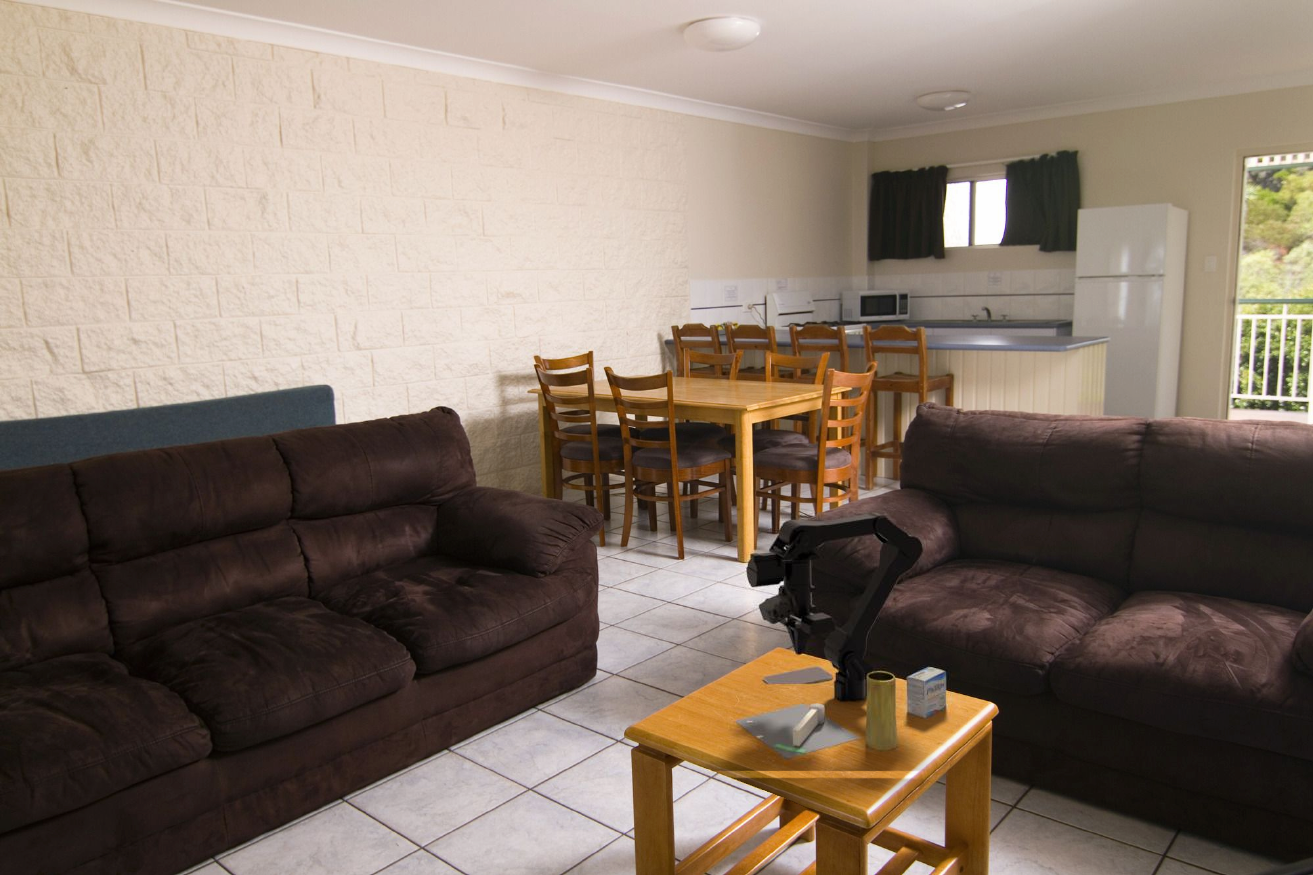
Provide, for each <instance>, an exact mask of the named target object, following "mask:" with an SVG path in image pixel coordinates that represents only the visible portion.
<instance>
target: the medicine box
mask: <svg viewBox="0 0 1313 875" xmlns="http://www.w3.org/2000/svg"><path fill="white" fill-rule="evenodd" d="M945 708H947V671H945V670H943V669H940V668H935V667H931V666H927V667H925V668H923V669H921V670H918V671H917V672H915V673H913V674H911V675H908V676H907V677H906V712H907V713H908V714H912V715H915V716H918V717H921V718H925V719H927V718H928V717H931V715H934V714H935V713H937V712H940V711H941V710H943V709H945Z"/></svg>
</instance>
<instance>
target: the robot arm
mask: <svg viewBox="0 0 1313 875" xmlns="http://www.w3.org/2000/svg"><path fill="white" fill-rule="evenodd" d="M871 535H873V536H874V537H875V538H876V540H878V541H879V542H880V543H881V547H880V550H879V558H878V561H879V562H878V567H877V569H876V571H874V574H873V576H872V578H871V579H870V581H869V583H868V585H867V586H866V588H865V590H864V592H863V594H862V596H861V597H860V599H859V601H858V603H857V605H856V606H855V608H854V609H853V611H852V613H851V615H850V617H849V618H848V621H847V622H846V623H845V624H843V625H842V626H841V627H838V626H837V625H836V624H837V623H836V622H837V621H836V619H835V618H834V617H832V616H830V615H828V614H826V613H824V612H819V613H812V612H816V611H817V605H814V604H813V603H812V602H813V598H812V595H813V593H816V591H817V590H816V586H815V585H812V561H818V560H819V561H820V560H821V559H822V556H821V555H819V554H818V553H817V552H816V551H815V550H816V549H818V548H819V547H821V546H823V545H824V544H826V543H829V542H834V541H839V540H846V539H851V538H858V537H865V536H871ZM786 547H787V549H786ZM923 553H924V548H923V543H922V541H921V539H919V538H918V537H917V536H914V535H911V534H908V533H907V532H906V531H904V530H903V529H901V528H900V527H898V526H897V525H896V524H895V523H893V522H892V521H891V520H889V518H888V517H887V516H885V515H883V514H880V513H878V512H874V511H873V512H870V513H867V514H860V515H855V516H847V517H843V518H837V519H835V518H834V519H829V520H822V521H815V520H804V519H788V520H786V521H785V522H783V523H782V525H781V526H780V527H779V531H778V535H777V537H776V538H775V540H774V541H773V543H772V544H771V546H770V547H769V549H768V552H763V553H759V552H754V553H750V558H749V560H748V562H747V566H746V577H747V581H748V584H749V585H750V587H751V588H759V587H768V586H769V587H770V586H775V585H779V587H778V594H775V595H773V596H771V597H769V598H765V600H764V601H763V602H761V603H759V605H758V609H759V612H760V615H761V617H762V620H763V621H767V622H769V624H771V625H776V624H778V623H779V624H781V625H782V626H783V627H785V628H786V630H787V633H788V634H789V635H788V636H789V638H790V640H791V641H790V642H791V643H792V646H793V651H794V652H795V654H796V655H798V656H800V655H802V654H803V652H804V650H805V648H806V646H807V645H808V642H809V640H810V638H811V637H812V636H816V635H821V634H826V633H829V635H828V636H827V638H825V639H824V641H823V642H824V643H825V644H824V647H823V653H824V656H825V659H826V660H827V661H829V662H830V664H831V666H832V667H833V669H836V671H837V672H835V674H834V675H835V680H834V681H833V686H834V687H833V688H834V689H833V690H834V691H833V693H834V694H833V696H834V697H833V698H834V699H836V700H837V701H839V702H842V703H844V702H845V703H847V702H854V703H855V702H861V701H863V700H865V699H866V698H867V674H868V673H870V672H874V667H873V666H871V665H870V664H869V663H868V662H867V661H866V660H865V659H864V657H865V655H866V652H867V641H868V635H869V633H870V631H871V630H872V627H873V626H874V624H875V623H876V620H877V618H878V616H879V614H880V613H881V611H882V609H883V608H884V606H885V605H886V603H887V600H888V599H889V598H890V597H889V596H891V594H892V591H893V590H894V588H895V586H896V585H897V582H898V581H899V579H900V577H901V576H903V575H905V574H907V572H909V571H910V570H912V569H913V568H914V566H915V565H916V564H917V563H918V561H919V560H920V558H921V557H922V555H923ZM782 582H783V584H781V583H782ZM780 584H781V585H780Z"/></svg>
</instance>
